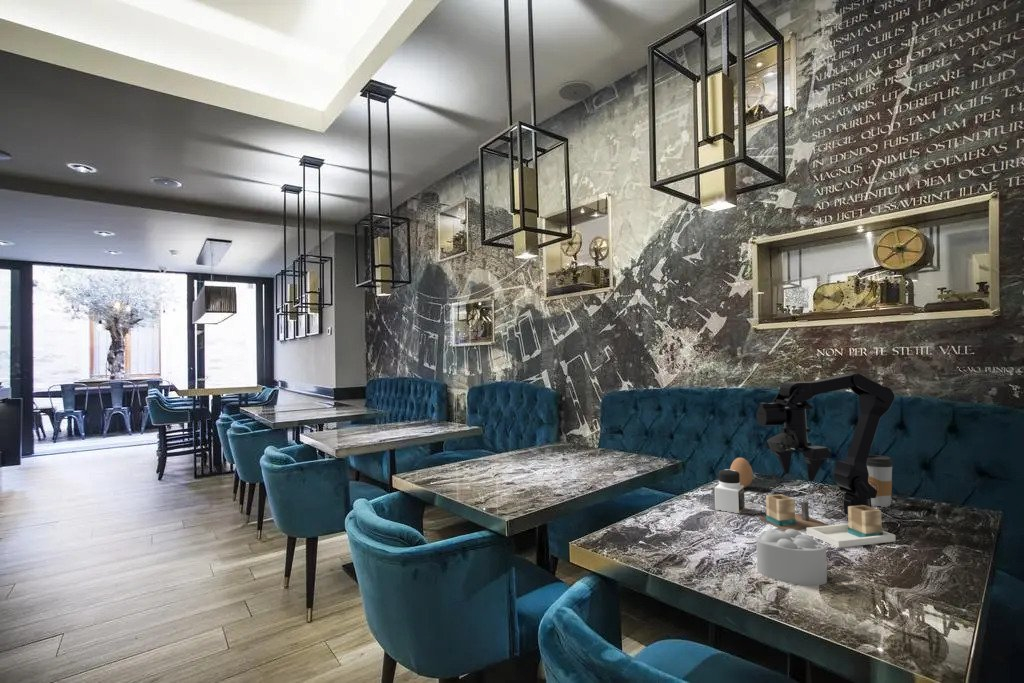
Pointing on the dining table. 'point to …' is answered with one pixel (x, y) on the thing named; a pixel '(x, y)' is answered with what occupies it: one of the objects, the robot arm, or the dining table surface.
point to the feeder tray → (846, 536)
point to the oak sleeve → (780, 510)
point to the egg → (743, 471)
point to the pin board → (800, 520)
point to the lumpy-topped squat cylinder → (791, 557)
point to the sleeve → (864, 521)
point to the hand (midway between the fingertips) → (798, 477)
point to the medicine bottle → (729, 492)
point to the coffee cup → (880, 479)
